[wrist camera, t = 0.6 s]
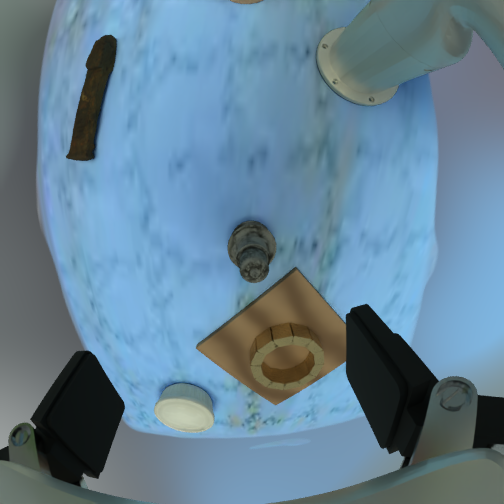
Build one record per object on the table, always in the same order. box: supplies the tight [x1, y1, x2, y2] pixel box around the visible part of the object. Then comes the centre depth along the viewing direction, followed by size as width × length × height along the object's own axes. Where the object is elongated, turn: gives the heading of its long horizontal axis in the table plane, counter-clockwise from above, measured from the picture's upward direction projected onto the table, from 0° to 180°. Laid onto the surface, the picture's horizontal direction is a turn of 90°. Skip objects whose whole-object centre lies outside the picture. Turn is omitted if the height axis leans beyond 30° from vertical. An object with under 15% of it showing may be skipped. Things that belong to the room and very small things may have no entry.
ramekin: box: [154, 383, 214, 433], centre depth 43 cm, size 11×11×5 cm
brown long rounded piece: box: [66, 35, 116, 161], centre depth 27 cm, size 19×4×5 cm, turn 166°
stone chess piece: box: [228, 221, 276, 283], centre depth 30 cm, size 6×6×12 cm
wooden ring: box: [250, 322, 324, 390], centre depth 39 cm, size 11×11×4 cm
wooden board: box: [196, 267, 346, 405], centre depth 41 cm, size 20×20×1 cm
